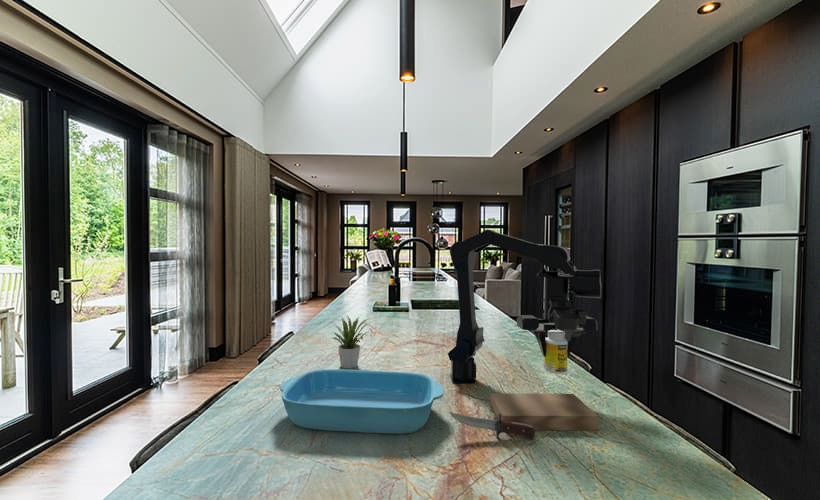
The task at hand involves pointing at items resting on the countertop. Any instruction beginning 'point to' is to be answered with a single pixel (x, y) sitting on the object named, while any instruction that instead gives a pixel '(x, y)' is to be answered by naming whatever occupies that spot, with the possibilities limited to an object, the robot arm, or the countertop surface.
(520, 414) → the walnut stand
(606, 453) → the countertop surface
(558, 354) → the supplement bottle
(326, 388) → the casserole dish
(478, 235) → the robot arm
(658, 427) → the countertop surface
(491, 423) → the knife
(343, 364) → the house plant
